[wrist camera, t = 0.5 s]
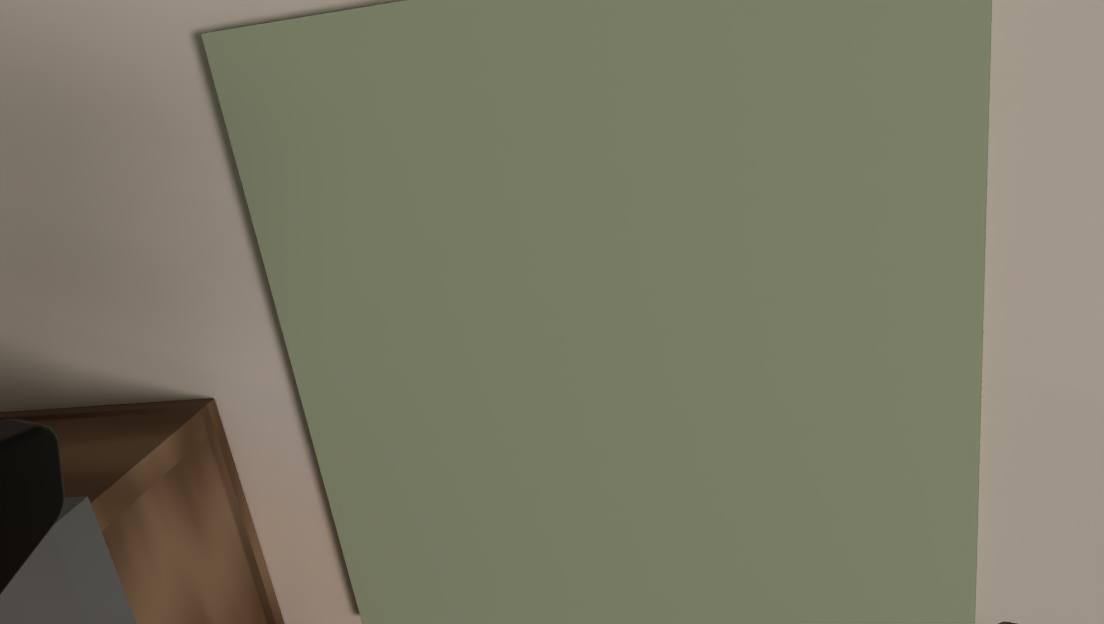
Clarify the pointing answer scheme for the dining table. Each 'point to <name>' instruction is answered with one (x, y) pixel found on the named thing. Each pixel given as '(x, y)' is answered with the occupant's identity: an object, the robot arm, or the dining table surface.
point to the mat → (631, 300)
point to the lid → (68, 576)
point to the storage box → (166, 509)
